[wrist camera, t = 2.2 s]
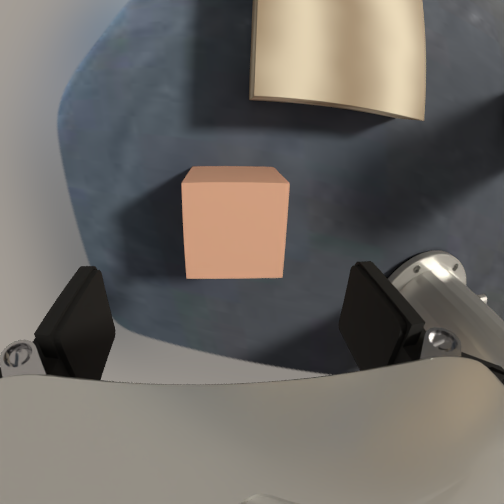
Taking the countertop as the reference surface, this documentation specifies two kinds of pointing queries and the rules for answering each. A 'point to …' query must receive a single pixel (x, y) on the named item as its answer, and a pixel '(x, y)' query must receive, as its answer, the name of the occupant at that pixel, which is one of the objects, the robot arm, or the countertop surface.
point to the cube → (234, 222)
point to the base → (340, 55)
